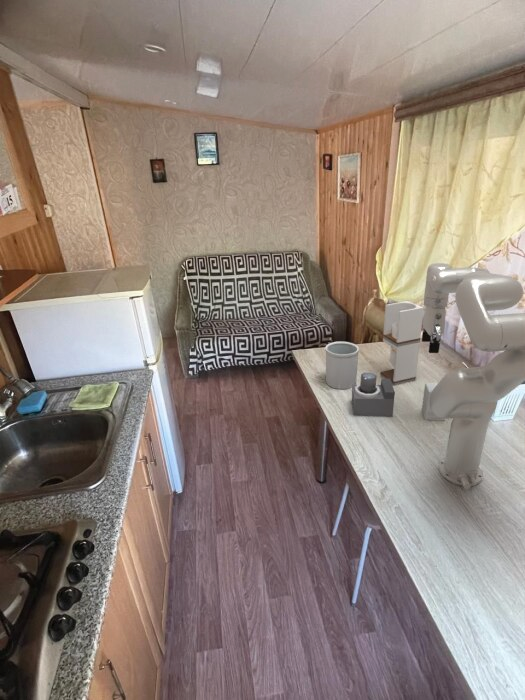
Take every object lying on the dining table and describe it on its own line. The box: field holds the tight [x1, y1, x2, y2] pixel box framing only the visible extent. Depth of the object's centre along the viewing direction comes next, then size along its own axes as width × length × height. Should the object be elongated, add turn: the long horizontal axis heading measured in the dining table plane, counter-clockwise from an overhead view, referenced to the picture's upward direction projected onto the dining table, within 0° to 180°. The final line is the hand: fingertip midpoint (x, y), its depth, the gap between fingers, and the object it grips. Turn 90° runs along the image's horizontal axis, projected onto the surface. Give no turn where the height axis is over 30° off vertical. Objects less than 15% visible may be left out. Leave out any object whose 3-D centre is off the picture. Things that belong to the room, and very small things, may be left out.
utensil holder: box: [324, 341, 360, 390], centre depth 177 cm, size 15×15×18 cm
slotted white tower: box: [380, 300, 425, 387], centre depth 173 cm, size 11×11×35 cm
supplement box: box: [421, 382, 446, 422], centre depth 149 cm, size 7×7×13 cm
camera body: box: [351, 377, 396, 417], centre depth 157 cm, size 11×15×11 cm
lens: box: [359, 372, 377, 394], centre depth 154 cm, size 6×6×7 cm
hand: (429, 346), depth 138 cm, fingers open, 9 cm apart
